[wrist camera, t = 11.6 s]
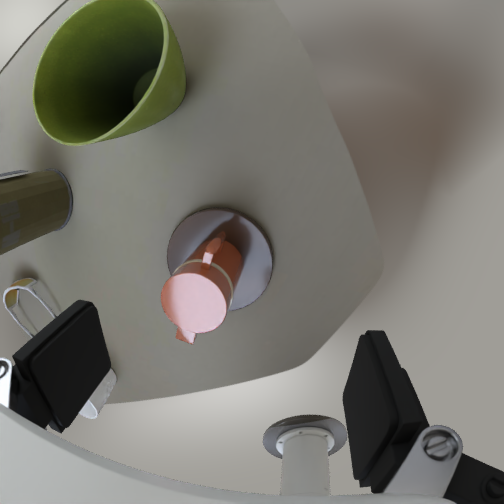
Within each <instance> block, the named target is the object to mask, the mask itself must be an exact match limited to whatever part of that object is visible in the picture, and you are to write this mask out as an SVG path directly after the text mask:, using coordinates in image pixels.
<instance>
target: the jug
mask: <svg viewBox="0 0 504 504" xmlns="http://www.w3.org/2000/svg"><path fill="white" fill-rule="evenodd" d="M225 239H226V234H225V233H224V232H219V233H218V234H217V235H216V236H215V238H214V239H211V240H207V241H205V242H203V243H202V244H201V245H199V246H198V248H197V249H196V250H195V251H194V252H193V253H192V254H191V255H190V256H189V257H188V258H187V259H186V261H185V262H184V263H183V264H181V265H180V266H179V267H178V268H177V269H176V270H175V271H174V273H173V274H172V276H171V277H170V278H169V279H168V280H167V281H166V283H165V284H164V286H163V288H162V292H161V303H162V307H163V309H164V312H165V313H166V315H167V316H168V318H169V319H170V320H171V321H172V322H173V323H174V324H175V325H177V326H178V329H177V333H176V338H177V339H179V340H182V341H184V342H187V343H190V344H194V342H195V340H196V337H197V333H206V332H210V331H212V330H214V329H216V328H217V327H219V326H220V325H221V324H222V322H223V321H224V319H225V317H226V314H227V311H228V309H229V308H230V306H231V303H232V301H233V296H234V293H235V290H236V287H237V285H238V282H239V279H240V277H241V274H242V271H243V260H242V257H241V254H240V253H239V251H238V250H237V249H236V247H235V246H233V245H232V244H231V243H229V242H227V241H225Z"/></svg>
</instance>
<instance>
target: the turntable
mask: <svg viewBox="0 0 504 504" xmlns="http://www.w3.org/2000/svg"><path fill="white" fill-rule="evenodd" d="M219 232H224V233H225V234H226V239H225V241H227V242H229V243H231V244H232V245H233V246H235V247H236V249H237V250H238V251H239V253H240V254H241V257H242V260H243V271H242V274H241V277H240V279H239V282H238V285H237V287H236V290H235V293H234V296H233V301H232V303H231V306H230V308H229V309H228V311H233V310H237V309H241V308H243V307H246V306H248V305H250V304H251V303H253V302H254V301H255V300H257V299H258V298H259V297H260V296H261V295H262V293H263V292H264V291H265V289H266V288H267V286H268V284H269V281H270V279H271V275H272V269H273V253H272V248H271V245H270V242H269V240H268V238H267V236H266V234H265V233H264V231H263V230H262V229H261V228H260V226H259V225H258V224H257V223H256V222H254V221H253V220H252V219H251V218H249V217H248V216H246V215H245V214H243V213H240V212H238V211H235V210H232V209H227V208H208V209H204V210H201V211H198V212H196V213H194V214H193V215H191V216H189V217H188V218H186V219H185V220H184V221H183V222H182V223H181V224H180V225H179V226H178V227H177V228H176V230H175V231H174V233H173V234H172V236H171V239H170V242H169V245H168V250H167V263H168V268H169V271H170V274H171V276H172V274H173V273H174V271H175V270H176V269H177V268H178V267H179V266H180V265H181V264H183V263H184V262H185V261H186V259H187V258H188V257H189V256H190V255H191V254H192V253H193V252H194V251H195V250H196V249H197V248H198V246H199V245H201V244H202V243H203V242H205V241H207V240H211V239H214V238H215V236H216V235H217V234H218V233H219Z"/></svg>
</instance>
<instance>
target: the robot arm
mask: <svg viewBox="0 0 504 504" xmlns="http://www.w3.org/2000/svg"><path fill="white" fill-rule="evenodd" d="M12 357H13V359H14V361H15V365H14V366H12V363H11V362H10V360H8V359H6V358H0V504H504V472H503V471H501V470H499V469H496V468H494V467H492V466H489V465H487V464H485V463H483V462H480V461H478V460H476V459H474V458H472V457H470V456H467V455H465V454H463V453H462V450H463V444H462V440H461V438H460V436H459V435H458V434H457V433H456V432H455V431H454V430H453V429H451V428H449V427H446V426H442V425H434V426H431V427H430V426H429V424H428V421H427V419H426V416H425V414H424V411H423V409H422V406H421V404H420V401H419V399H418V397H417V394H416V392H415V390H414V387H413V385H412V383H411V381H410V378H409V376H408V374H407V372H406V370H405V369H403V368H401V366H400V364H399V362H398V360H397V357H396V355H395V353H394V351H393V348H392V346H391V344H390V342H389V340H388V338H387V336H386V334H385V332H384V331H375V330H373V331H372V330H368V331H366V333H365V335H361V336H360V338H359V341H358V345H357V349H356V353H355V356H354V360H353V363H352V367H351V370H350V373H349V376H348V380H347V383H346V386H345V389H344V392H343V406H344V411H345V418H346V425H347V431H348V438H349V445H350V452H351V460H352V468H353V475H354V479H355V480H359V483H360V487H369V486H371V492H372V493H374V494H361V495H338V496H330V477H329V461H328V451H330V450H331V449H332V447H333V446H334V436H333V435H332V434H331V433H330V432H329V431H327V430H325V429H322V428H317V427H300V428H295V429H292V430H289V431H287V432H285V433H283V434H282V435H280V436H279V437H278V439H277V441H276V448H277V450H278V451H279V453H281V454H282V455H283V458H282V474H281V488H280V495H266V494H256V493H246V492H238V491H230V490H224V489H217V488H211V487H206V486H201V485H196V484H191V483H186V482H181V481H178V480H174V479H169V478H166V477H162V476H158V475H155V474H151V473H148V472H145V471H141V470H138V469H135V468H132V467H129V466H126V465H123V464H121V463H118V462H115V461H113V460H110V459H107V458H104V457H102V456H100V455H97V454H95V453H93V452H90V451H88V450H85V449H83V448H81V447H79V446H76V445H74V444H72V443H70V442H68V441H66V440H64V439H62V438H60V437H58V436H56V435H54V434H52V433H50V432H48V431H47V429H46V426H47V425H48V424H49V426H50V427H51V428H52V429H54V430H55V431H57V432H59V433H62V432H63V431H64V429H65V428H67V427H69V426H70V425H71V423H72V422H73V420H74V419H75V418H76V416H77V415H78V413H79V412H80V411H81V409H82V408H83V406H84V405H85V404H86V402H87V401H88V399H89V398H90V397H91V395H92V394H93V392H94V391H95V390H96V388H97V387H98V386H99V384H100V383H101V382H102V380H103V379H104V377H105V376H106V375H107V373H108V372H109V371H110V368H111V361H110V358H109V354H108V351H107V347H106V343H105V340H104V336H103V332H102V328H101V324H100V319H99V315H98V311H97V308H96V307H95V306H94V304H93V303H92V302H89V301H84V300H77V301H76V302H75V303H73V304H72V305H71V306H70V307H68V308H67V309H66V310H65V311H64V312H62V313H61V314H60V315H59V316H58V317H56V318H55V319H54V320H53V321H52V322H50V323H49V324H48V325H47V326H46V327H44V328H43V329H42V330H41V331H40V332H39V333H37V334H36V335H35V336H34V337H33V338H32V339H31V340H29V341H28V342H27V343H26V344H25V345H24V346H23V347H22V348H20V349H19V350H18V351H17V352H16V353H15V354H14V355H13V356H12Z"/></svg>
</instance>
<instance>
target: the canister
mask: <svg viewBox="0 0 504 504" xmlns="http://www.w3.org/2000/svg"><path fill="white" fill-rule="evenodd" d="M22 172H28V171H24V170H19V171H13V172H8V173H3V174H0V177H2V176H7V175H12V174H17V173H22ZM71 211H72V193H71V189H70V186H69V184H68V182H67V180H66V178H65V177H64V175H63V174H62V173H61V172H59V171H57V170H56V169H46V170H44V171H41V172H35V173H30V174H25V175H20V176H15V177H10V178H6V179H1V180H0V255H2V254H4V253H6V252H8V251H10V250H12V249H14V248H16V247H18V246H20V245H23V244H25V243H27V242H29V241H31V240H34V239H36V238H38V237H40V236H43V235H45V234H47V233H50V232H52V231H57V230H60V229H62V228H63V227H64V226H65V225H66V224H67V222H68V221H69V219H70V216H71Z"/></svg>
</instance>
